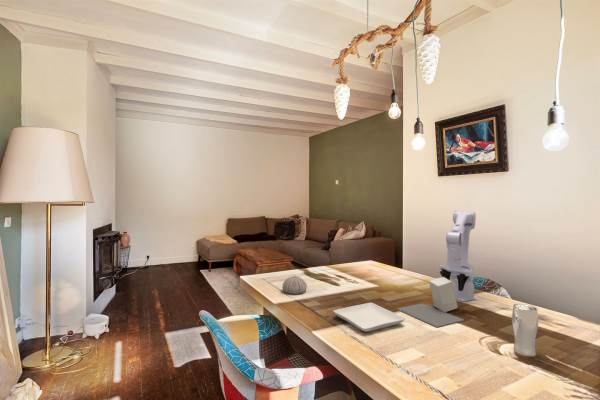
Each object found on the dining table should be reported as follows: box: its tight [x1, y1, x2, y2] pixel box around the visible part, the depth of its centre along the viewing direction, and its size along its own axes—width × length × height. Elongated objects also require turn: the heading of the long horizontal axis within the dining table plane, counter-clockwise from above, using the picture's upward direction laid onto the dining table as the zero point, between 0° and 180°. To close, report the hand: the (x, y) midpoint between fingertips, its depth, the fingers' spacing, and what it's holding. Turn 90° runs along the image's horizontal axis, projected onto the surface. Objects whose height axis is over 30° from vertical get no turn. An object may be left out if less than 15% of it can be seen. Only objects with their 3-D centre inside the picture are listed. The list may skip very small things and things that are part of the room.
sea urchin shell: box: [281, 275, 308, 295], centre depth 170 cm, size 13×14×8 cm
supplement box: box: [428, 276, 458, 313], centre depth 143 cm, size 7×7×13 cm
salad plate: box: [332, 302, 406, 333], centre depth 130 cm, size 21×21×3 cm
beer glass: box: [511, 303, 539, 358], centre depth 105 cm, size 7×7×15 cm
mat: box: [396, 303, 465, 329], centre depth 137 cm, size 16×22×1 cm
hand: (453, 288), depth 144 cm, fingers open, 6 cm apart
